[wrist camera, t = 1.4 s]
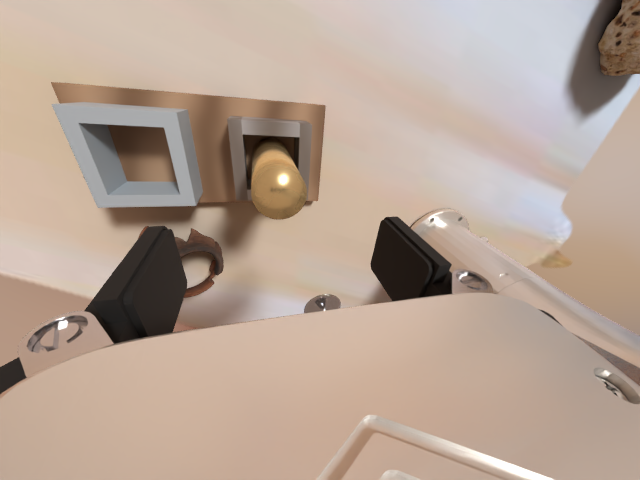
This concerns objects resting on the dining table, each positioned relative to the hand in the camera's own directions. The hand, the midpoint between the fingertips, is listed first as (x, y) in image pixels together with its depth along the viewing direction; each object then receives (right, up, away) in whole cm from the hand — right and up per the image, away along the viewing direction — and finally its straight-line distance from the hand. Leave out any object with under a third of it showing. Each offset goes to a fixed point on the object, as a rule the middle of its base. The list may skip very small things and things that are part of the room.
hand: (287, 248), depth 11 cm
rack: (-16, +9, +13) cm, 23 cm away
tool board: (-10, +10, +16) cm, 22 cm away
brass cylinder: (-4, +10, +16) cm, 19 cm away
